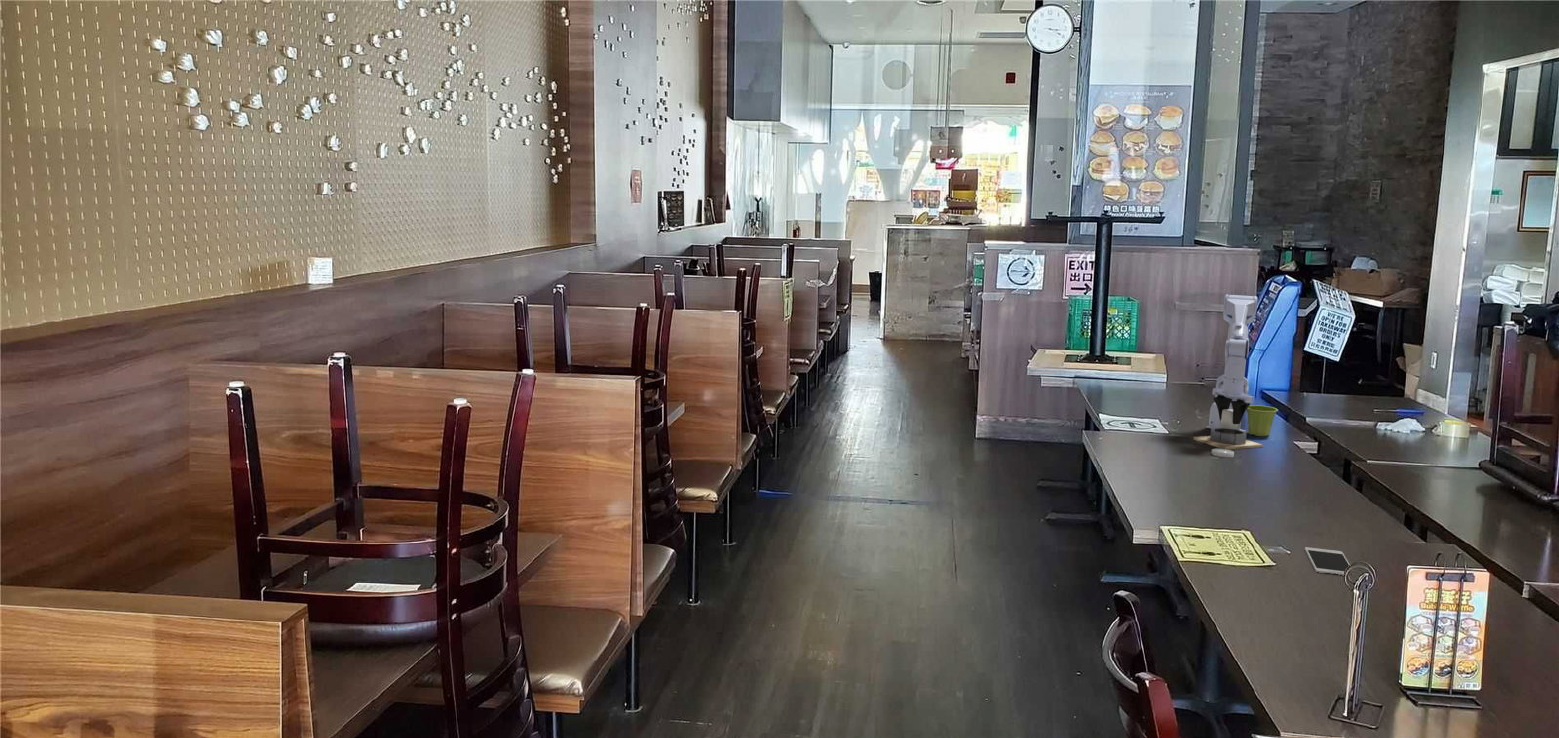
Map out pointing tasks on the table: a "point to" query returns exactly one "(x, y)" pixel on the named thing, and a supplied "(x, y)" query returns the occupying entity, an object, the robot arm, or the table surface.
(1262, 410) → the plant pot
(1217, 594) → the table surface
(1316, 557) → the smartphone
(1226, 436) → the lens ring
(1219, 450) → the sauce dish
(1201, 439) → the mount plate
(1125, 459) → the table surface
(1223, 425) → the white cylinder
